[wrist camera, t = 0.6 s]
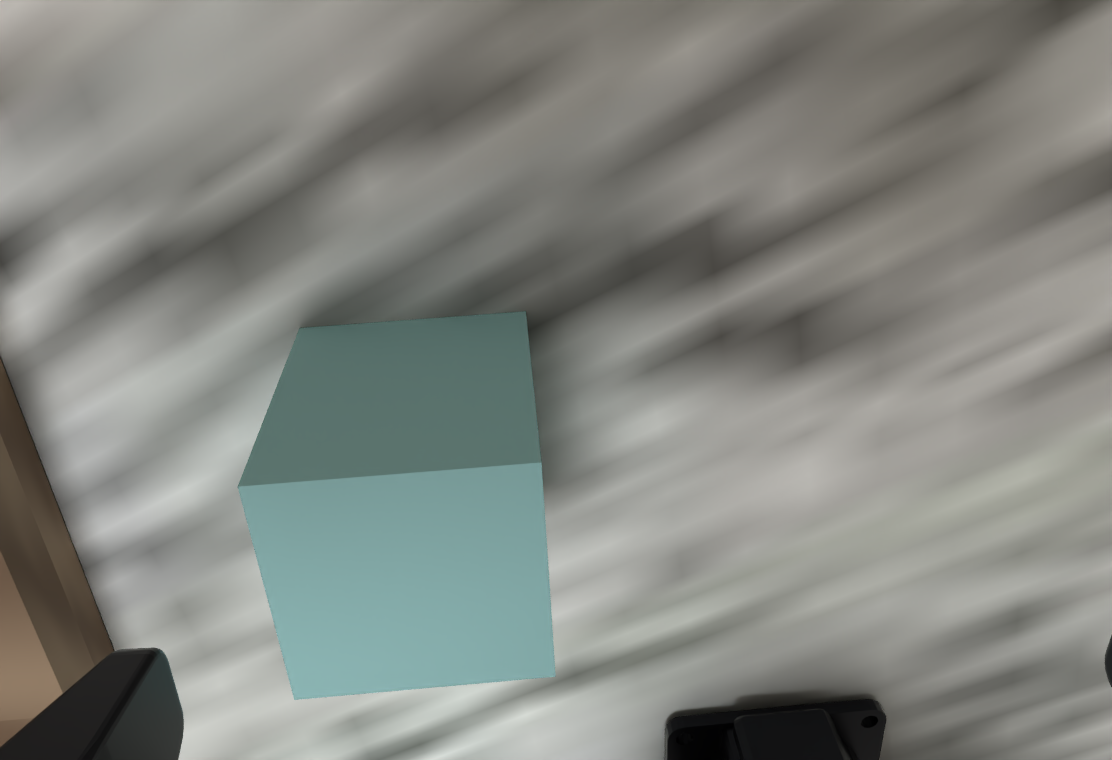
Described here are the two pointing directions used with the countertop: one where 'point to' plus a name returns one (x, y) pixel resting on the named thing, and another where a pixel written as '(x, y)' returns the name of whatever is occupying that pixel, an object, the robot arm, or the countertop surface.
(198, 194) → the countertop surface
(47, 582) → the puzzle board
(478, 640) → the teal block
